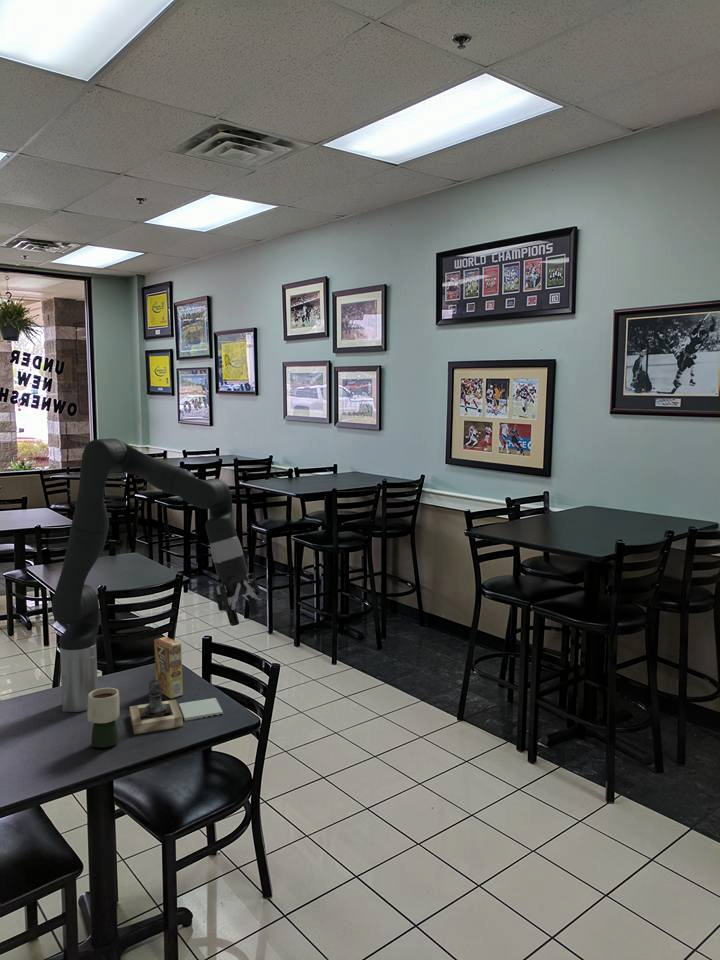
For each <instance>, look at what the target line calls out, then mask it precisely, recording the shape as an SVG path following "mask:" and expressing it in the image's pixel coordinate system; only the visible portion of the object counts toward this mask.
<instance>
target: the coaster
mask: <svg viewBox="0 0 720 960" xmlns="http://www.w3.org/2000/svg"><path fill="white" fill-rule="evenodd" d="M178 707H179V709H180V712H181V714H182V717H183V720H184V721H185V722H186V721H187V722H188V721H192V720H198V718H199V719H204V718H203V717H205V718H209V717H208V716H211V717H214V716H213V715H217V716H220V715H219V714H223V715H224V711H223V709H222V708H221V705H220V703H219V702H218V700H217V698H216V697H212V698H207V699H200V700H194V701H193V700H192V701H186V702H180V703H178Z"/></svg>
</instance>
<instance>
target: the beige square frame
mask: <svg viewBox="0 0 720 960" xmlns="http://www.w3.org/2000/svg"><path fill="white" fill-rule="evenodd" d="M161 701H162V703H163V704H166V705H167V709H166V712H165V714H167V713H169V715H166V716H165V715H164V716H163V717H159V718H152V719H148V718H146V719H141V718H142V717H147V715H146V713H145V711H144V708H145V707H146V706H147V705H149V703H144V704H137V705H131V706H129V717H130V718H129V719H130V722H131V728H132V730H133V731H132V732H133V734H134V735H138V734H143V733H144V734H145V733H150V732H156V731H161V730H162V731H163V730H169V729H173V728H181V727H183V726H184V724H183V723H184V722H183V720H184V717H183V715H182V712H181V710H180V707H179V703H178V702H177V699H175V698H174V699H170V700H165V701H163V700H161Z"/></svg>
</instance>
